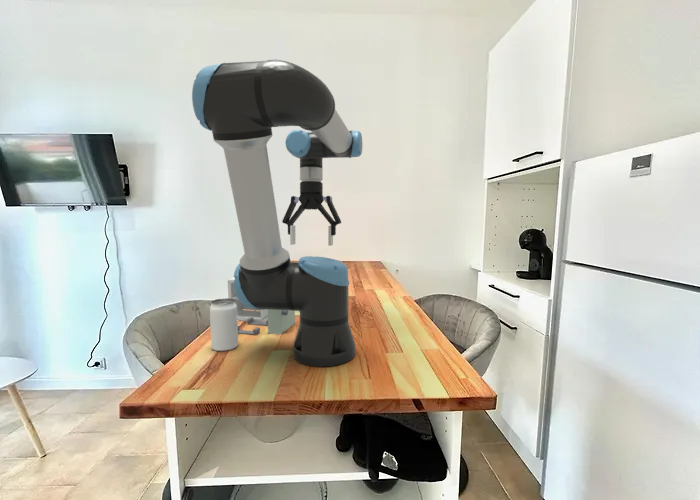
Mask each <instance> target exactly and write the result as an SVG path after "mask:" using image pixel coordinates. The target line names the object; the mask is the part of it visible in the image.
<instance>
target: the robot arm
mask: <svg viewBox="0 0 700 500" xmlns="http://www.w3.org/2000/svg"><path fill="white" fill-rule="evenodd" d="M191 93H192V94H191V99H192V101H191V102H192V109H193V112H194V114H195V117H196V120H197V121H199V124H200V126H201V127H203V128H204V129H205V130H208V131H210V132H211V133H212V137H213V138H212V139H213V142H215V143H216V145H219V146H220V147H222V149H223V152H224V157H225V163H226V167H227V172H228V178H229V181H230V182H229V183H230V188H231V191H232V196H233V197H232V198H233V202H234V207H235V212H236V216H237V217H236V218H237V222H238V227H239V231H240V236H241V243H242V247H243V251H244V254H243V255H242V256H241V258H240V259H239V263H238V264H237V266H236V267H235V270H234V273H233V278H234V277H235V280H234V281H233V282H234V290H235V293H236V296H237V298H238V300H239V301H240V302H241V303H242V304H243V305H244V306H246V307H249V308H256V309H260V310H264V309H273V310H292V311H295V312H296V311H297V312H299V326H298V330H297V332H296V335H295V339H294V341H293V345H292V346H293V347H292V356H293V358H294V359H295V361H297V362H298V363H300V364H304V365H306V366H311V367H319V368H320V367H333V366H339V365H342V364H346V363H348V362H349V361H351V360H353V359H354V357H355V356H356V342H355V339H354V338H355V337H354V336H353V333H352V329H351V326H350V324H349V323H350V322H349V285H350V280H349V270H348V269H349V268H348V266H347V265H346V263H344V262H342V261H341V260H338V259H335V258H330V257H325V256H311V255H309V256H308V255H307V256H302V257H300V258H299V260H298V262H293V261H291V256H290V252H289V251H288V249H285V248H283V246H282V239H281V232H280V228H279V219H278V213H277V207H276V200H275V193H274V187H273V179H272V174H271V173H272V172H271V167H270V160H269V153H268V147H267V144H268V142H270V139H271V138H273V129H272V128H278V127H279V128H280V127H300V128H301V129H303V130H301V129H294V130H291V131H290V132H289V133H288V135H287V136H286V137H285V142H284V143H285V148H286V150H287V151H288V153H289V154H291V156H293V157H294V158H297V159H299V180H300V183H299V196H295V195H291V196H290V203H289V205H288V207H287V209H286V211H285V214H284V216H283V217H282V220H281V222H282V223H283V224H285V225H287V235H289V238H290V239H289V242H290V243H289V244H290V245H292V246H293V245H296V225H294V224H295V223H296V221H297V220H298V219H299V217H300V216H301V215H302V214H303V212H304V211H305V210H307V211H309V210H310V211H311V210H314V211H315V210H318V211H319V212H320V214H322V216H323V217H324V218H325V220H326V221H327V222H328V223H329V224H330V225H328V229H327V230H328V232H327V233H328V237H327V238H328V239H327V240H328V243H327V244H328V246H329V247H330V246H333V245H334V236H336V234H337V233H336V232H337V228H336V227H337V226H338V225H340V224H342V220H341V218H340V216H339V213H338V211H337V209H336V208H335V205H334V203H333V197H332V196H330V195H327V196H324V195H323V191H324V190H323V185H324V184H323V182H322V181H323V173H324V172H323V170H324V169H323V159H330V158H334V159H335V158H336V159H338V158H341V159H342V158H344V159H345V158H348V159H351V158H359V157H361V155H362V153H363V135H362V133H361V132H360V131H359V130H353V129H352V130H349V129H348V127H347V125H346V124H345V123H344V121H343V119H342V117H341V116H340V114H339V112H338V111H337V109H336V101H335V98H334V96H333V94H332V92H331V90H330V89H329V87H328V86H327V85H326V83H324V82H323V80H321V79H320V78H319V76H316V75H315V74H314V73H312V72H310V71H309V70H307V69H306V68H304V67H302V66H300V65H298V64H295V63H293V62H290V61H286V60H281V59H268V60H260V61H259V60H258V61H256V60H255V61H239V62H221V63H216V64H211V65H208V66H205V67H203V68H201V69H200V70H199V71H198V73H197V74H196V76H195V79H194V81H193V84H192V91H191ZM306 131H308V132H306ZM309 131H310V132H309ZM324 202H325V203H326V204H327V207H328V209H329V211H330V213H331V215H332V216H331V215H330V213H328V211H327V209H325V207H324V206H323V203H324ZM298 203H300V205H299V207H298V208H297V210H296V211H295V208H296V206H297V204H298ZM294 211H295V212H294Z"/></svg>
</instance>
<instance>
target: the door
mask: <svg viewBox="0 0 700 500" xmlns="http://www.w3.org/2000/svg"><path fill="white" fill-rule="evenodd" d="M295 313H296V311H292V310H273V309H268V326H267V333H268V334H274V335H282V334H284V332H286V331H287V330H288V329H290V328H291V327H292V326H294V325H295V324H296V322H295V320H296V317H295V316H296V314H295Z"/></svg>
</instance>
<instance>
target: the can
mask: <svg viewBox="0 0 700 500" xmlns="http://www.w3.org/2000/svg"><path fill="white" fill-rule="evenodd" d="M210 303H211V305H210V307H209V320H210V321H209V323H210V324H209V325H210V341H211V343H210V346H211V349H212V350H213V351H216V352H229V351H231V350H234V349H236V347H237V346H239V334H238V326H239V324H238V321H237V305H236V304H235V300H234V299H231V298H228V297H226V298H225V297H223V298H217V299H213V300H212V301H211V302H210Z"/></svg>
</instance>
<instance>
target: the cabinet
mask: <svg viewBox="0 0 700 500" xmlns="http://www.w3.org/2000/svg"><path fill="white" fill-rule="evenodd" d="M234 280H235V277H234V276H233V277H231V278H229V279H227V294H228V297H227V298H231V299H234V300H235V304H236V305H237V320H241V321H242V322H246V323H247V325H250V326H251V325H253V326H254V325H255V326H263V327H264V326H265V327H268V309H264V310H260V309H256V308H249V307H246V306H244V305H243V304H242V303H241V302H240V301H239V300H238V298H237V296H236V293H235V290H234V282H233V281H234ZM241 321H240V322H241ZM259 334H261V327H255V328H253V330H246V329H244V330H243V329H241V328H240V325H238V335H250V336H251V335H252V336H257V335H259Z"/></svg>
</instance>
